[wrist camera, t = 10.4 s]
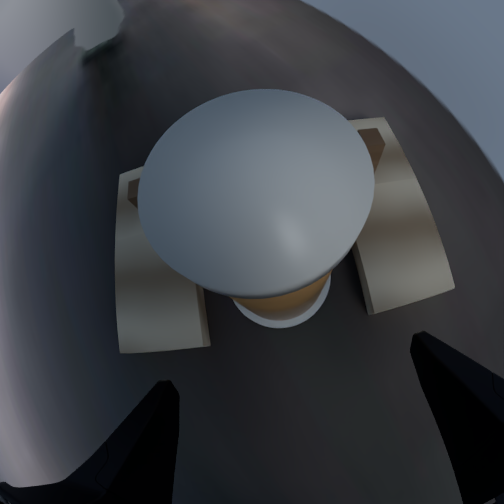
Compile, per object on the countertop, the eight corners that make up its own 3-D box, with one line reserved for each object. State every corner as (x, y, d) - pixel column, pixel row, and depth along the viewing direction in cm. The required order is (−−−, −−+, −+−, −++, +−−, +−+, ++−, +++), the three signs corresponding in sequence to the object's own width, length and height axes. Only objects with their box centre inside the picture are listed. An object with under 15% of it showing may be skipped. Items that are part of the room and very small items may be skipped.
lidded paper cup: (333, 323, 16) (410, 283, 5) (233, 331, 17) (120, 307, 6) (322, 228, 18) (345, 79, 7) (229, 238, 19) (149, 108, 8)
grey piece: (444, 292, 15) (495, 269, 10) (131, 353, 17) (74, 352, 12) (380, 129, 20) (395, 75, 14) (128, 183, 22) (90, 143, 16)
